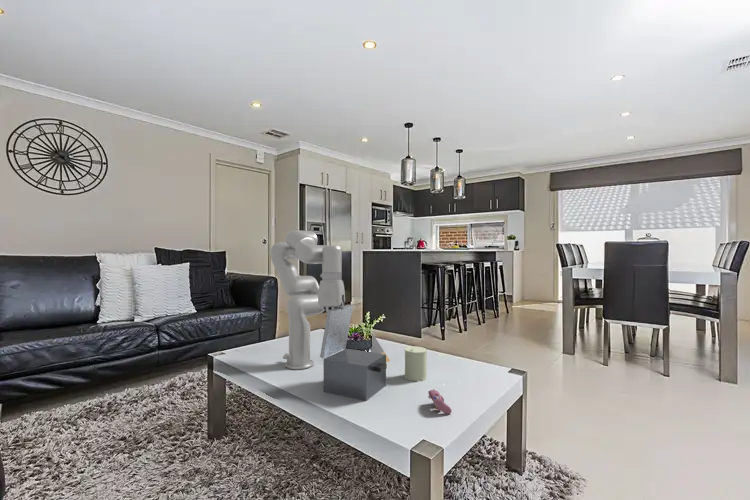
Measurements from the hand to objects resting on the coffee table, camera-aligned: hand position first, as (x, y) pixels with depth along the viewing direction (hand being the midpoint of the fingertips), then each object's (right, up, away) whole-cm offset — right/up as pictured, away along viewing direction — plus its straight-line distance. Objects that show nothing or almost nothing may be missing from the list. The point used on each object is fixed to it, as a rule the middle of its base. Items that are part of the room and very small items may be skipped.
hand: (331, 323), depth 141 cm
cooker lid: (+3, -2, -1) cm, 4 cm away
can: (+34, -24, +8) cm, 42 cm away
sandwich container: (+16, -24, +32) cm, 43 cm away
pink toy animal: (+38, -24, -21) cm, 50 cm away
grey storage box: (+11, -23, -5) cm, 26 cm away
